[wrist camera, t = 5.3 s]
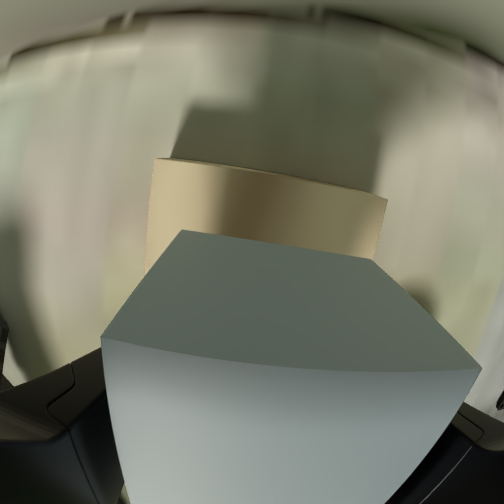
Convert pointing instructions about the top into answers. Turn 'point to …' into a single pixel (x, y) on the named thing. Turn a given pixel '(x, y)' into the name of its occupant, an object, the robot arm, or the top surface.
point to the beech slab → (259, 209)
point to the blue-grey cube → (275, 377)
